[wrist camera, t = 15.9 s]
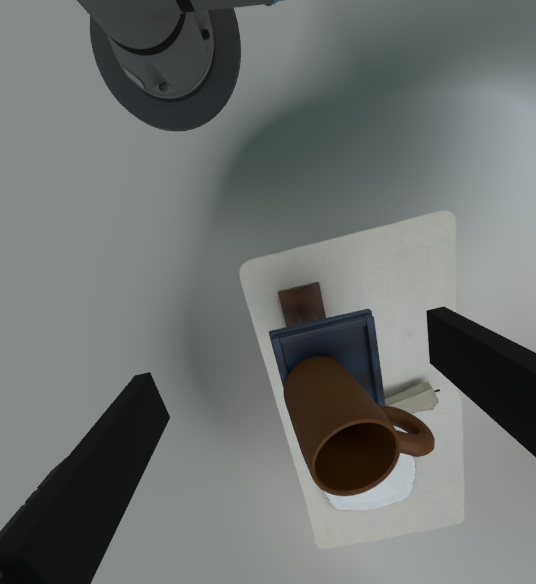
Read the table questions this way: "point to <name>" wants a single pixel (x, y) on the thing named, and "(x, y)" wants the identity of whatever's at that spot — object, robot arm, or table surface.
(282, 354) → the pedestal tray stand
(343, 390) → the mug
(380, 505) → the plate
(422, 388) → the faceted club
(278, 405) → the table surface
